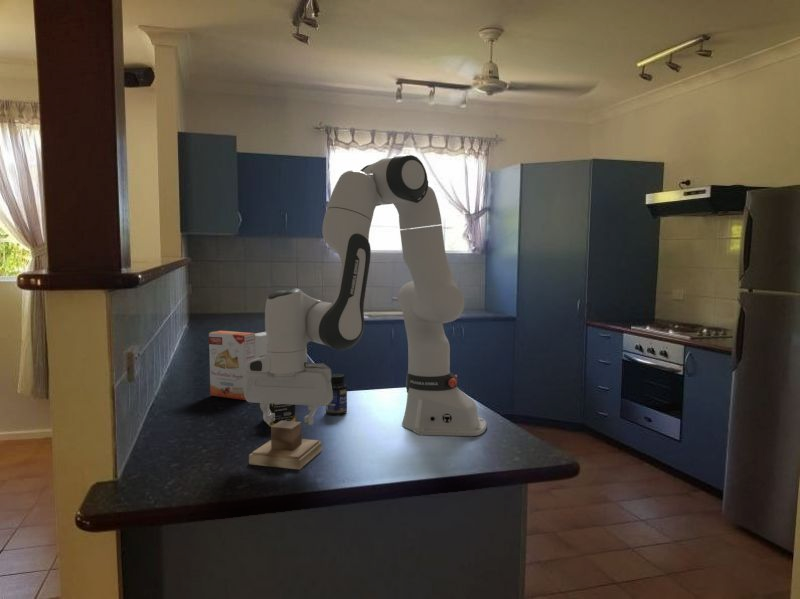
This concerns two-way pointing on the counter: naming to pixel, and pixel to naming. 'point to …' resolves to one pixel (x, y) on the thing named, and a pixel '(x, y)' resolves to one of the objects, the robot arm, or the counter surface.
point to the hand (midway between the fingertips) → (289, 422)
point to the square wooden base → (286, 455)
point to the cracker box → (229, 362)
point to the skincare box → (260, 344)
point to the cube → (286, 435)
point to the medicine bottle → (281, 413)
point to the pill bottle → (338, 396)
